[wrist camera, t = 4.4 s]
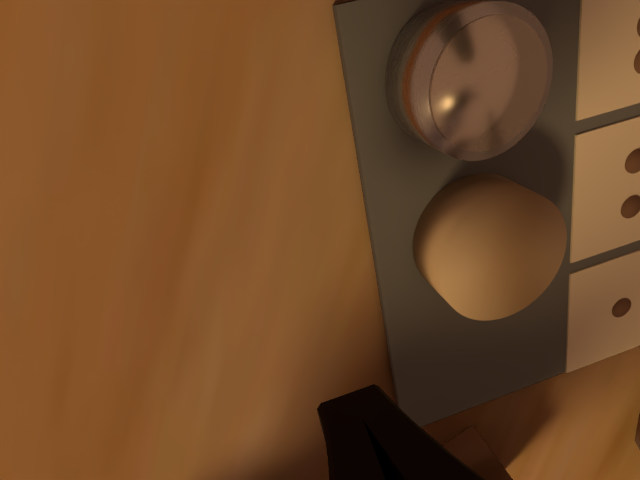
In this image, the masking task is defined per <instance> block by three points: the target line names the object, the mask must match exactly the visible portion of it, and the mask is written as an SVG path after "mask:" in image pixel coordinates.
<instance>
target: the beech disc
mask: <svg viewBox="0 0 640 480" xmlns="http://www.w3.org/2000/svg"><path fill="white" fill-rule="evenodd" d="M566 242H567V231H566V225H565V222H564V219H563V216H562V214H561V213H560V211H559V209H558V208H557V207H556V206H555V205H554V204H553V203H552V202H551V201H550V200H548V199H547V198H545V197H543V196H541V195H539V194H537V193H535V192H533V191H531V190H529V189H527V188H525V187H523V186H521V185H519V184H517V183H515V182H513V181H511V180H509V179H507V178H505V177H503V176H500V175H498V174H493V173H475V174H471V175H467V176H464V177H462V178H459V179H457V180H455V181H453V182H452V183H450V184H449V185H447V186H446V187H444V188H443V189H442V190H441V191H439V192H438V193H437V194H436V195H435V196H434V197H433V198H432V199H431V201H430V202H429V203H428V204H427V206H426V207H425V209H424V210H423V212H422V214H421V216H420V218H419V220H418V222H417V225H416V228H415V231H414V236H413V245H412V247H413V257H414V261H415V264H416V267H417V269H418V271H419V272H420V274H421V275H422V276H423V278H424V279H425V280H426V281H427V282H428V283H429V284H430V285H431V286H432V287H433V288H434V289H435V290H436V291H437V292H438V293H439V294H440V295H441V296H442V297H443V298H444V299H445V300H446V301H447V303H448V304H449V305H450V306H451V307H452V308H453V309H455V310H456V311H457V312H458V313H460V314H461V315H463V316H465V317H468V318H470V319H474V320H482V321H487V320H496V319H501V318H504V317H507V316H510V315H512V314H515V313H516V312H518V311H520V310H522V309H524V308H525V307H527V306H528V305H530V304H531V303H532V302H533V301H534V300H536V299H537V298H538V297H539V296H540V295H541V294H542V293H543V292H544V291H545V289H546V288H547V287H548V286H549V285H550V283H551V282H552V280H553V279H554V277H555V275H556V274H557V272H558V270H559V268H560V266H561V263H562V260H563V258H564V254H565V250H566Z"/></svg>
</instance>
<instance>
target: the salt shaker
mask: <svg viewBox="0 0 640 480" xmlns="http://www.w3.org/2000/svg"><path fill="white" fill-rule="evenodd" d="M635 442H636V444H637V446H638V448H639V450H640V415H639V420H638V426H637V432H636V438H635Z"/></svg>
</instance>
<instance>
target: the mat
mask: <svg viewBox="0 0 640 480" xmlns="http://www.w3.org/2000/svg"><path fill="white" fill-rule="evenodd" d="M445 1H507V2H511V3H515V4H518V5H520V6H522V7H524V8H525V9H527V10H529V11H530V12H531V13H532V14H533V15H534V16H536V18H537V19H538V20H539V21H540V23H541V24H542V26H543V27H544V29H545V31H546V33H547V36H548V38H549V41H550V45H551V49H552V57H553V73H552V81H551V86H550V91H549V94H548V97H547V100H546V102H545V105H544V107H543V109H542V111H541V113H540V115H539V117H538V119H537V120H536V122H535V123H534V125H533V126H532V127H531V129H530V130H529V131H528V132H527V134H526V135H525V136H524V137H523V138H522V139H521V140H520V141H519V142H517V143H516V144H515V145H514V146H512V147H511V148H509V149H508V150H506V151H505V152H503V153H501V154H499V155H497V156H494V157H492V158H489V159H484V160H480V161H465V160H460V159H456V158H454V157H451V156H449V155H447V154H445V153H443V152H441V151H439V150H437V149H435V148H433V147H431V146H429V145H427V144H425V143H423V142H421V141H419V140H417V139H415V138H413V137H412V136H410V135H408V134H407V133H406V132H405V131H404V130H402V129H401V127H400V126H399V125H398V124H397V123H396V121H395V119H394V118H393V116H392V114H391V112H390V110H389V107H388V103H387V100H386V94H385V71H386V66H387V61H388V58H389V55H390V52H391V50H392V47H393V45H394V43H395V41H396V39H397V38H398V36H399V34H400V33H401V31H402V30H403V29H404V27H405V26H406V25H407V24H408V23H409V22H410V21H411V20H412V19H413V18H414V17H415V16H416V15H418V14H419V13H420V12H422V11H423V10H425V9H426V8H428V7H430V6H433V5H435V4H438V3H441V2H445ZM332 6H333V12H334V18H335V24H336V31H337V37H338V43H339V49H340V55H341V61H342V68H343V74H344V80H345V86H346V92H347V98H348V105H349V111H350V117H351V123H352V129H353V136H354V142H355V148H356V154H357V160H358V166H359V173H360V179H361V185H362V191H363V197H364V204H365V210H366V216H367V222H368V228H369V234H370V241H371V247H372V253H373V259H374V265H375V271H376V278H377V284H378V290H379V296H380V302H381V309H382V315H383V321H384V327H385V333H386V339H387V346H388V352H389V358H390V364H391V370H392V377H393V383H394V389H395V395H396V401H397V406H398V407H399V408H400V409H401V410H402V411H403V412H404V413H405V414H406V415H408V416H409V417H410V418H411V419H412V420H413V421H414V422H415V423H416V424H417V425H418V426H419V427H422V426H425V425H427V424H430V423H433V422H435V421H438V420H440V419H443V418H446V417H448V416H451V415H454V414H456V413H459V412H462V411H464V410H467V409H469V408H472V407H475V406H477V405H480V404H483V403H485V402H488V401H491V400H493V399H496V398H498V397H501V396H504V395H506V394H509V393H512V392H514V391H517V390H520V389H522V388H525V387H527V386H530V385H533V384H535V383H538V382H541V381H543V380H546V379H549V378H551V377H554V376H556V375H559V374H562V373H564V372H566V373H569V372H571V371H574V370H577V369H579V368H582V367H585V366H587V365H590V364H592V363H595V362H598V361H600V360H603V359H606V358H608V357H611V356H614V355H616V354H619V353H621V352H624V351H627V350H629V349H632V348H635V347H637V346H640V0H354V1H350V2H345V3H341V4H336V5H332ZM475 173H493V174H498V175H500V176H503V177H505V178H507V179H509V180H511V181H513V182H515V183H517V184H519V185H521V186H523V187H525V188H527V189H529V190H531V191H533V192H535V193H537V194H539V195H541V196H543V197H545V198H547V199H548V200H550V201H551V202H552V203H553V204H554V205H555V206H556V207H557V208H558V209H559V211H560V213H561V214H562V216H563V219H564V222H565V225H566V231H567V242H566V250H565V254H564V258H563V260H562V263H561V266H560V268H559V270H558V272H557V274H556V275H555V277H554V279H553V280H552V282H551V283H550V285H549V286H548V287H547V288H546V289H545V291H544V292H543V293H542V294H541V295H540V296H539V297H538V298H537V299H536V300H534V301H533V302H532V303H531V304H530V305H528V306H527V307H525V308H524V309H522V310H520V311H518V312H516V313H515V314H512V315H510V316H507V317H504V318H501V319H496V320H487V321H482V320H474V319H470V318H468V317H465V316H463V315H461V314H460V313H458V312H457V311H456V310H455V309H453V308H452V307H451V306H450V305H449V304H448V303H447V301H446V300H445V299H444V298H443V297H442V296H441V295H440V294H439V293H438V292H437V291H436V290H435V289H434V288H433V287H432V286H431V285H430V284H429V283H428V282H427V281H426V280H425V279H424V278H423V276H422V275H421V274H420V272H419V271H418V269H417V267H416V264H415V261H414V257H413V247H412V245H413V236H414V231H415V228H416V225H417V222H418V220H419V218H420V216H421V214H422V212H423V210H424V209H425V207H426V206H427V204H428V203H429V202H430V201H431V199H432V198H433V197H434V196H435V195H436V194H437V193H438V192H439V191H441V190H442V189H443V188H444V187H446V186H447V185H449V184H450V183H452V182H453V181H455V180H457V179H459V178H462V177H464V176H467V175H471V174H475Z"/></svg>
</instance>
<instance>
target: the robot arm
mask: <svg viewBox="0 0 640 480" xmlns="http://www.w3.org/2000/svg"><path fill="white" fill-rule="evenodd" d="M317 411H318V415H319V419H320V422H321V426H322V430H323V434H324V438H325V442H326V448H327V455H328V466H329V480H485V479H484V478H483V477H481V476H480V475H479V474H477V473H476V472H475V471H473V470H472V469H471V468H469V467H468V466H467V465H465V464H464V463H463V462H461V461H460V460H459V459H458V458H456V457H455V456H454V455H453V454H451V453H450V452H449V451H448V450H447V449H445V448H444V447H443V446H442V445H441V444H439V443H438V442H437V441H436V440H435V439H433V438H432V437H431V436H430V435H429V434H427V433H426V432H425V431H424V430H423V429H422V428H421V427H419V426H418V425H417V424H416V423H415V422H414V421H413V420H412V419H411V418H410V417H409V416H408V415H406V414H405V413H404V412H403V411H402V410H401V409H400V408H399V407H398V406H397V405H396V404H395V403H394V402H393V401H392V400H391V399H390V398H389V397H388V396H387V395H386V394H385V392H384V391H383V390H382V389H381V388H380V387H379V386H377V385H371V386H368V387H365V388H362V389H360V390H357V391H354V392H351V393H348V394H346V395H343V396H340V397H337V398H334V399H332V400H329V401H326V402H323V403H321V404H320V405H319V407H318V408H317Z"/></svg>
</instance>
